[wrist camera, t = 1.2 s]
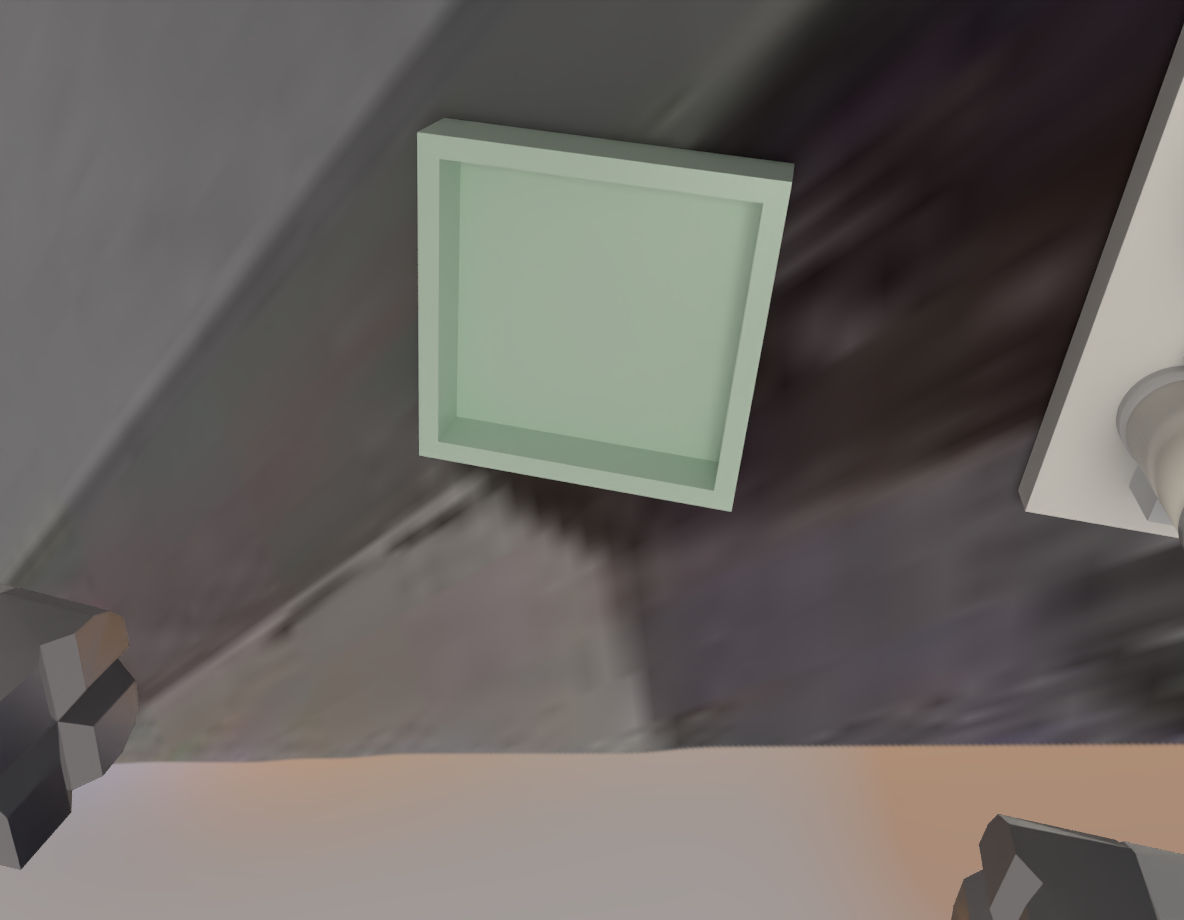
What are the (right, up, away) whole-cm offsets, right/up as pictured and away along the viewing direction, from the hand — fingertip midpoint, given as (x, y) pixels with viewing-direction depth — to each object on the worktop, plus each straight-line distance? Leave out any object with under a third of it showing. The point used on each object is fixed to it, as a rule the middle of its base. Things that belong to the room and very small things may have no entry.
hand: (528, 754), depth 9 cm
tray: (+1, +10, +39) cm, 40 cm away
